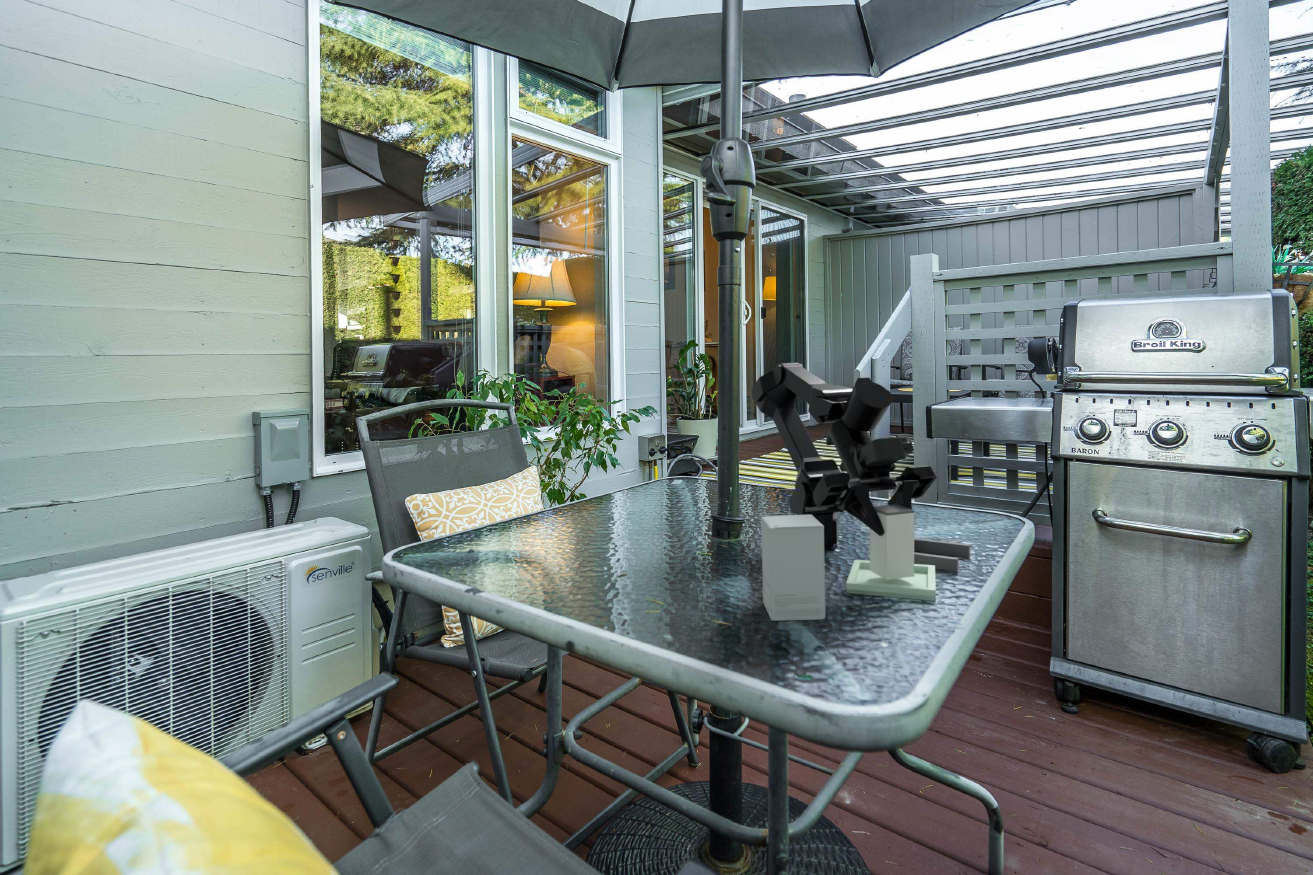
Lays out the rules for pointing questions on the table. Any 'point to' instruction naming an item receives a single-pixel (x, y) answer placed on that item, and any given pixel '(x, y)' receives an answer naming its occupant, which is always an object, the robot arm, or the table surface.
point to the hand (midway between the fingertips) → (896, 532)
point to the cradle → (940, 548)
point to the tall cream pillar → (893, 543)
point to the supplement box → (793, 567)
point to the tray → (892, 582)
